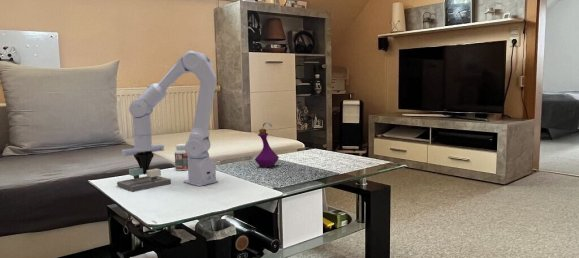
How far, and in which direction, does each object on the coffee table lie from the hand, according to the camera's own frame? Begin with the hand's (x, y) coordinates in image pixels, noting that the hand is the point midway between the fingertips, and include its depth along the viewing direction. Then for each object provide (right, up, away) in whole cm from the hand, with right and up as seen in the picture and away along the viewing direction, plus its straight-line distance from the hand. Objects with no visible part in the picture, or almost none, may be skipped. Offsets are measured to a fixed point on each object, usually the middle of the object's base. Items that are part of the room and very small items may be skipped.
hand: (144, 173), depth 145 cm
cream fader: (+5, -1, -4) cm, 7 cm away
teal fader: (-2, -1, -2) cm, 3 cm away
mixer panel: (+1, -3, -4) cm, 5 cm away
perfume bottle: (+41, 0, +23) cm, 47 cm away
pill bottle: (+8, -1, +20) cm, 22 cm away
